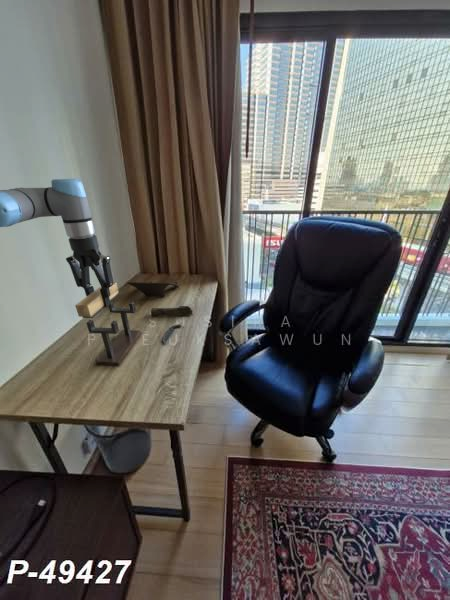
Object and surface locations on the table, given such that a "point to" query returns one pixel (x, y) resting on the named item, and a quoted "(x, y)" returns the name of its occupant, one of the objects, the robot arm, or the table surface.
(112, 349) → the tool rack
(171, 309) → the hand tool
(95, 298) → the wooden block
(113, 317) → the table surface
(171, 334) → the knife
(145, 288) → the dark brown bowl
